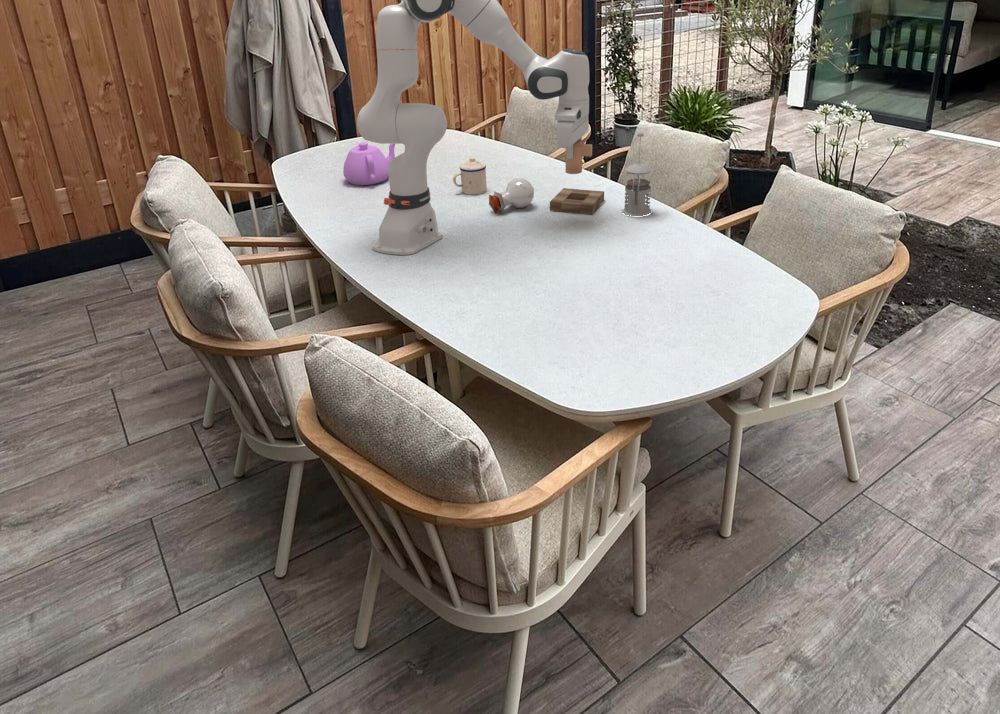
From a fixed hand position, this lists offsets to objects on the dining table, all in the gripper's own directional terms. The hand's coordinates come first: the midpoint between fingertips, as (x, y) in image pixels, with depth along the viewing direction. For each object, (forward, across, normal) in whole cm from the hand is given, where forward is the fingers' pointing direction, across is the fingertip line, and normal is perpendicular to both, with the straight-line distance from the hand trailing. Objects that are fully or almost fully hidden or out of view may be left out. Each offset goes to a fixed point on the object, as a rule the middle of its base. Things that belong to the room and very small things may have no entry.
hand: (573, 154), depth 230 cm
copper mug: (+5, 0, +1) cm, 5 cm away
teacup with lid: (+20, -14, -42) cm, 48 cm away
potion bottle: (+20, -2, -21) cm, 29 cm away
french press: (+20, -8, +18) cm, 28 cm away
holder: (+20, -10, -2) cm, 22 cm away
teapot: (+20, -18, -83) cm, 87 cm away
